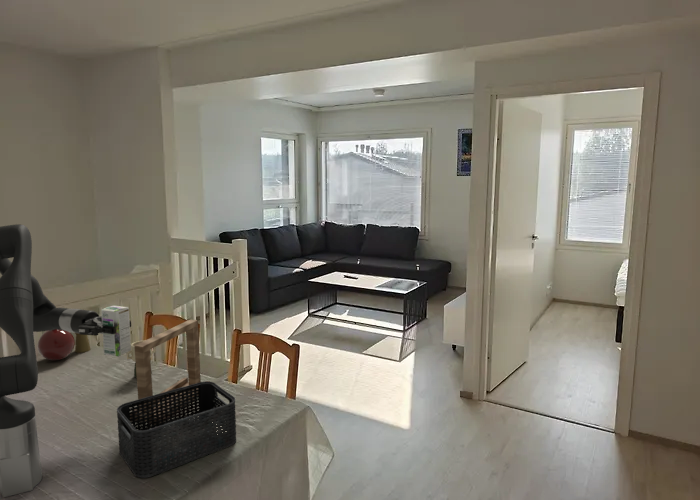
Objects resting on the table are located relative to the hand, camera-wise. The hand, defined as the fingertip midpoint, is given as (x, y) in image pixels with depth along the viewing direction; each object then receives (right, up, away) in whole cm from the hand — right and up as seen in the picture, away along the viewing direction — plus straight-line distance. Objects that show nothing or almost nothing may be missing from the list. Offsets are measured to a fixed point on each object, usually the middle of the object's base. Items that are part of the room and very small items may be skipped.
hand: (122, 327), depth 150 cm
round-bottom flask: (-51, -22, +52) cm, 77 cm away
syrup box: (-3, -8, +2) cm, 9 cm away
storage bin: (+21, -33, -11) cm, 41 cm away
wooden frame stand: (+10, -28, +15) cm, 33 cm away
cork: (-47, -20, +63) cm, 81 cm away
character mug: (-9, -25, +36) cm, 45 cm away
